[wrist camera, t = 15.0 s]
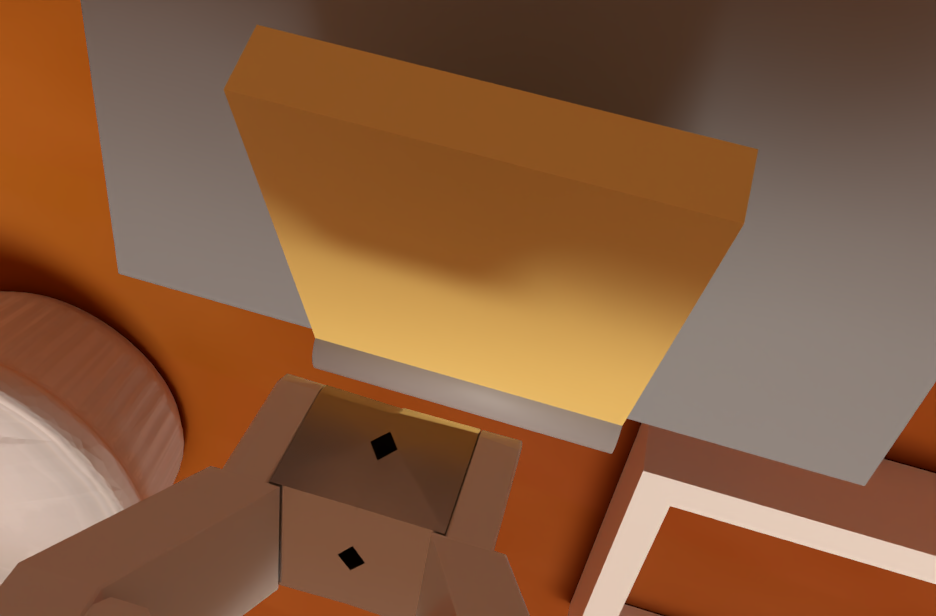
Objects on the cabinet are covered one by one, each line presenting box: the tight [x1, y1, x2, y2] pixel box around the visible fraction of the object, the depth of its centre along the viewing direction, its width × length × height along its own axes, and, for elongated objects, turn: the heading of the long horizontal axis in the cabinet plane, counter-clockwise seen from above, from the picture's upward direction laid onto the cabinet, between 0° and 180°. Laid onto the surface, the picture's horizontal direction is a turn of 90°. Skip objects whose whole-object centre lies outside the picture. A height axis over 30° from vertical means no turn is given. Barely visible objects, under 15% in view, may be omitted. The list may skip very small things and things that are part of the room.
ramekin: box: [0, 291, 184, 585], centre depth 30 cm, size 11×11×5 cm
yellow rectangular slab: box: [223, 25, 758, 454], centre depth 14 cm, size 6×9×1 cm
